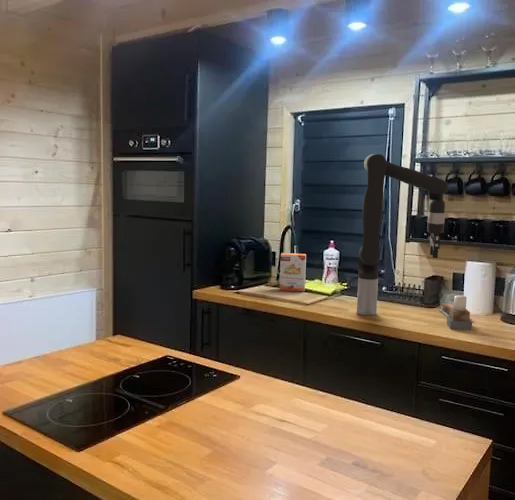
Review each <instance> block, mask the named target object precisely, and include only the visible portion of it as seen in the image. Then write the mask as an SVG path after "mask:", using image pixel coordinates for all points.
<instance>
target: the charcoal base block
mask: <svg viewBox="0 0 515 500" xmlns="http://www.w3.org/2000/svg"><path fill="white" fill-rule="evenodd" d="M446 325H447V326H448V329H450V330H457V329H460V331H461V330H462V331H472V330H473V320H472V321H471V320H469V321H453V320H452V319H451V318H450V317H449V316H447V318H446Z"/></svg>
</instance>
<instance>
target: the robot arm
mask: <svg viewBox="0 0 515 500" xmlns="http://www.w3.org/2000/svg"><path fill="white" fill-rule="evenodd" d="M363 166H364V167H363V168H364V169H365V170H366V172H367V187H366V190H365V193H364V197H363V201H362V202H363V203H362V214H361V217H362V218H361V219H362V220H361V221H362V229H363V230H362V231H363V239H362V245H361V247H360V248H359V251H358V266H357V268H358V271H357V272H358V274H357V275H358V276H357V278H358V281H357V294H356V295H357V296H356V297H357V299H356V314H357V315H362V316H375V315H377V308H378V287H379V260H380V258H381V247H380V241H381V240H380V236H381V229H382V220H383V213H384V183H385V177H389V178H392V179H394V180H397V181H400V182H402V183H404V184H406V185H409V186H412V187H414V188H417V189H422V190H425V191H428V193H427V194H428V202H429V204H428V215H427V227H426V232H427V233H430V234H429V235H430V236H429V245H428V246H429V247H430V248H429V249H430V250H429V255H430V256H432V258H433V259H438V256H439V250H440V245H441V243H440V242H441V236H440V234H443V233H444V232H445V231H444V230H445V219H446V218H445V209H446V202H445V201H444V195H445V194H446V193H447V192H448V190H449V185H448V183H447V181H446V180H444V179H441V178H438V177H434V176H431V175H428V174H426V173H424V172H420V171H418V170H415V169H412V168H409V167H406V166H401V165H397V164H395V163H392V162H390V161H388V160H387V159H386V157H385V156H384V155H383V154H381V153H373V154H369V155H368V156H367V157H365V159H364V161H363Z"/></svg>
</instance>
